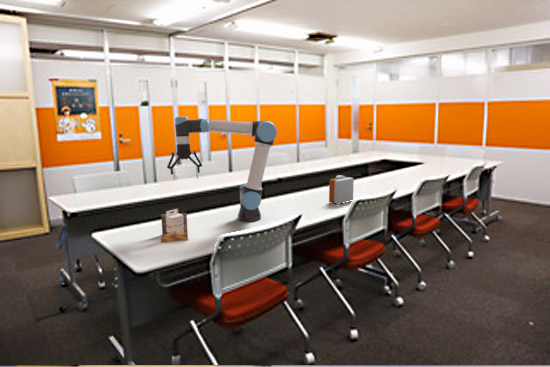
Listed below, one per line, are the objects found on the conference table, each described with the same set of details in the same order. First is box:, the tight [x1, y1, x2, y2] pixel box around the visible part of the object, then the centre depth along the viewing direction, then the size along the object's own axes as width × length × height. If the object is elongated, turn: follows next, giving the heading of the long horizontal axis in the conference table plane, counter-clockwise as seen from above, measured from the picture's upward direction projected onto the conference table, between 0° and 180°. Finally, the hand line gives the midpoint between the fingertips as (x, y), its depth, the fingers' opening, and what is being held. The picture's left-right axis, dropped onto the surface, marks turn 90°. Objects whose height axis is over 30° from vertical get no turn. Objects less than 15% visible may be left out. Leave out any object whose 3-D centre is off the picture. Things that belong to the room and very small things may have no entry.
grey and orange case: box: [328, 174, 355, 205], centre depth 296 cm, size 18×9×21 cm, turn 130°
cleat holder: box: [160, 212, 189, 243], centre depth 219 cm, size 14×13×12 cm
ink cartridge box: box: [165, 208, 184, 234], centre depth 219 cm, size 9×5×15 cm, turn 141°
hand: (185, 179), depth 233 cm, fingers open, 13 cm apart
